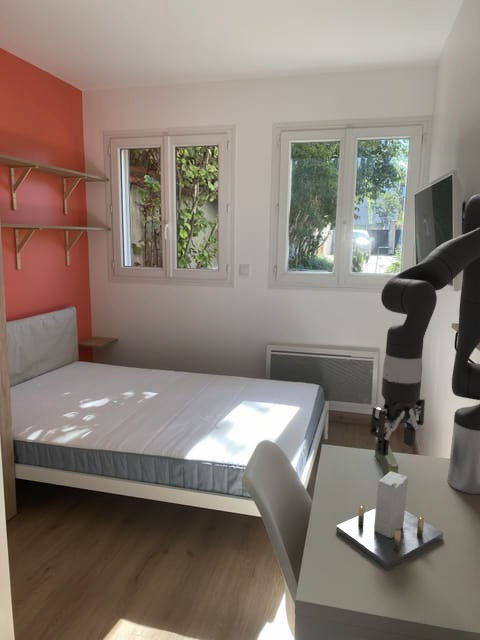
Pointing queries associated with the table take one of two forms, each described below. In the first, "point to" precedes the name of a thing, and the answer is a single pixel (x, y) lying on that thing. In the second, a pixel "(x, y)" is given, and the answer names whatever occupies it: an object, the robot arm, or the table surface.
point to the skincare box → (390, 503)
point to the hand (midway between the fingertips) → (395, 449)
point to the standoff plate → (387, 549)
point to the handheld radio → (386, 460)
